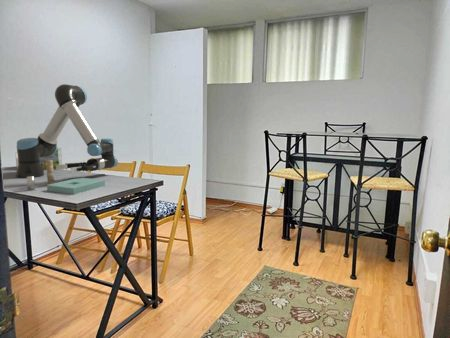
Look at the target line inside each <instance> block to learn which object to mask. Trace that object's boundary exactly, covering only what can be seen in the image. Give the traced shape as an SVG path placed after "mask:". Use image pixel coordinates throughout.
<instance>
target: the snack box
mask: <svg viewBox="0 0 450 338" xmlns="http://www.w3.org/2000/svg"><path fill="white" fill-rule="evenodd" d="M62 157H63V156H62V148H61V147H57V150H56V152H55V153H54V154H52V155H50V156H45V157H40V164H41V166H42V168H45V169H44V170H47V167H46V160H53V170H56V165H63V158H62Z"/></svg>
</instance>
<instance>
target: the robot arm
mask: <svg viewBox="0 0 450 338" xmlns="http://www.w3.org/2000/svg"><path fill="white" fill-rule="evenodd" d="M54 98H55V100H56V102H57V104H58V106H57V109H56V111H55V112H54V114H53V115H52V118H51V119H50V121H49V123H48V125H47V126H46V128H45V129H44V131H43V132H41V133H39V134H38V136H37V138H36V137H27V138H20V139H19V140H17V141H16V152H17V154H18V167H16V173H15V177H16V178H21V179H22V178H24V179H25V178H26V179H27V176H34V178H36V177H41V176H45V171H44V169H43V168H42V166H41V164H40V157H45V156H50V155H52V154H54V153H55V152H56V150H57V148H58V137H59V136H60V134H61V133H62V132H63V129H64V128H65V126H66V125H67V122H68V121H69V120H70V121H71V123H72V125H73V126H74V127H75V130H76V131H77V132H78V134H79V135H80V137H81V139H82V140H83V141H84V143H85V144H86V146H87V148H86V151H87V154H88V155H89V156H91V157H94V158H89V159H87V161H86V162H85V161H83V162H82V161H81V162H70V163H68V162H67V163H66V162H65V163H64V164H62V165H56V169H55V170H56V171H60V170H62V171H63V170H68V169H70V173H79V172H89V171H90V172H95V171H101V170H105V169H106V170H107V169H112V168H115V167H117V166H118V163H119V161H118V158H117V156H115V154H114V142H113V141H114V139H112V138H100V140H99V139H98V137H97V135H96V134H95V132H94V130H93V129H92V127H91V126H90V124H89V123H88V121H87V119H86V118H85V116H84V115H83V113H82V112H81V110H80V108H79V107H80V106H81V105H84V104H85V103H86V102H87V99H88V96H87V92H86V90H85V89H84V88H82V87H81V86H79V85H71V84H66V83H65V84H60V85H58V86H57V88H56V89H55V92H54ZM100 156H101V157H100ZM95 157H97V158H95Z"/></svg>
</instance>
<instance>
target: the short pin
mask: <svg viewBox="0 0 450 338" xmlns="http://www.w3.org/2000/svg"><path fill="white" fill-rule="evenodd" d="M26 185H27V190H28V191H35V190H36V186H35V185H36V184H35V177H34V176H27V178H26Z"/></svg>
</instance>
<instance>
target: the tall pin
mask: <svg viewBox="0 0 450 338" xmlns="http://www.w3.org/2000/svg"><path fill="white" fill-rule="evenodd" d="M46 167H47V169H46V178H47V185H49V184H54V183H55V176H54V172H55V171H54V169H53V160H46Z"/></svg>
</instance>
